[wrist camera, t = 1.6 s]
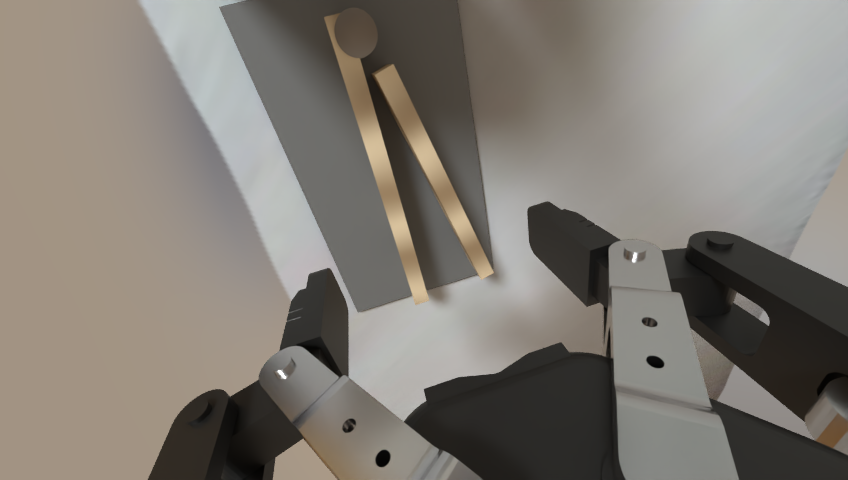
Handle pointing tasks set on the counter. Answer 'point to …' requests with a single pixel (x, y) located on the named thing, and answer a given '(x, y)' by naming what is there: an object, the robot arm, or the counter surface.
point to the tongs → (373, 129)
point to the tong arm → (430, 164)
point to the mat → (342, 141)
